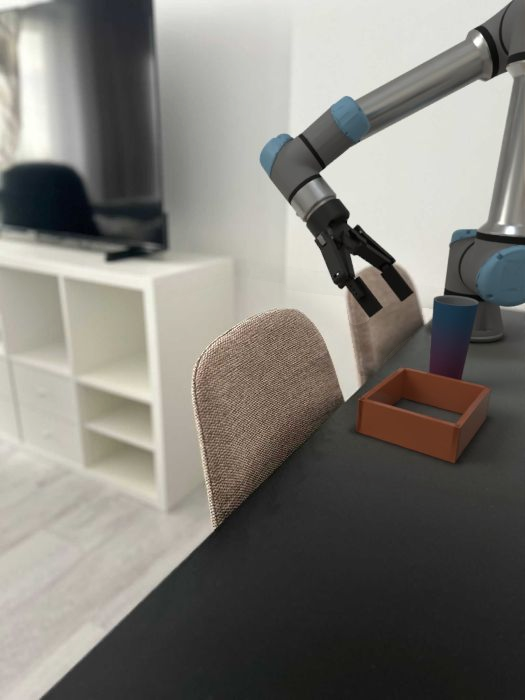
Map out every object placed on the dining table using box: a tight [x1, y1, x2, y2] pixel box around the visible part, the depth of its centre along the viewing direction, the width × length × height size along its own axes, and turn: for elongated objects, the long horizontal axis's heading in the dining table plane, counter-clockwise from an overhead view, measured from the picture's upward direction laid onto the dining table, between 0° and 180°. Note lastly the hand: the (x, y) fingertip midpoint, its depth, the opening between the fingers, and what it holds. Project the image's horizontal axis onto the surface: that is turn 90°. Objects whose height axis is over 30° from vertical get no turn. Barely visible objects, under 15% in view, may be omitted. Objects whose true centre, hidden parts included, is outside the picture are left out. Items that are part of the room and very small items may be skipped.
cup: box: [428, 294, 479, 380], centre depth 85 cm, size 7×7×15 cm
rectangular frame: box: [355, 366, 492, 464], centre depth 73 cm, size 16×14×5 cm
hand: (393, 304), depth 89 cm, fingers open, 13 cm apart
